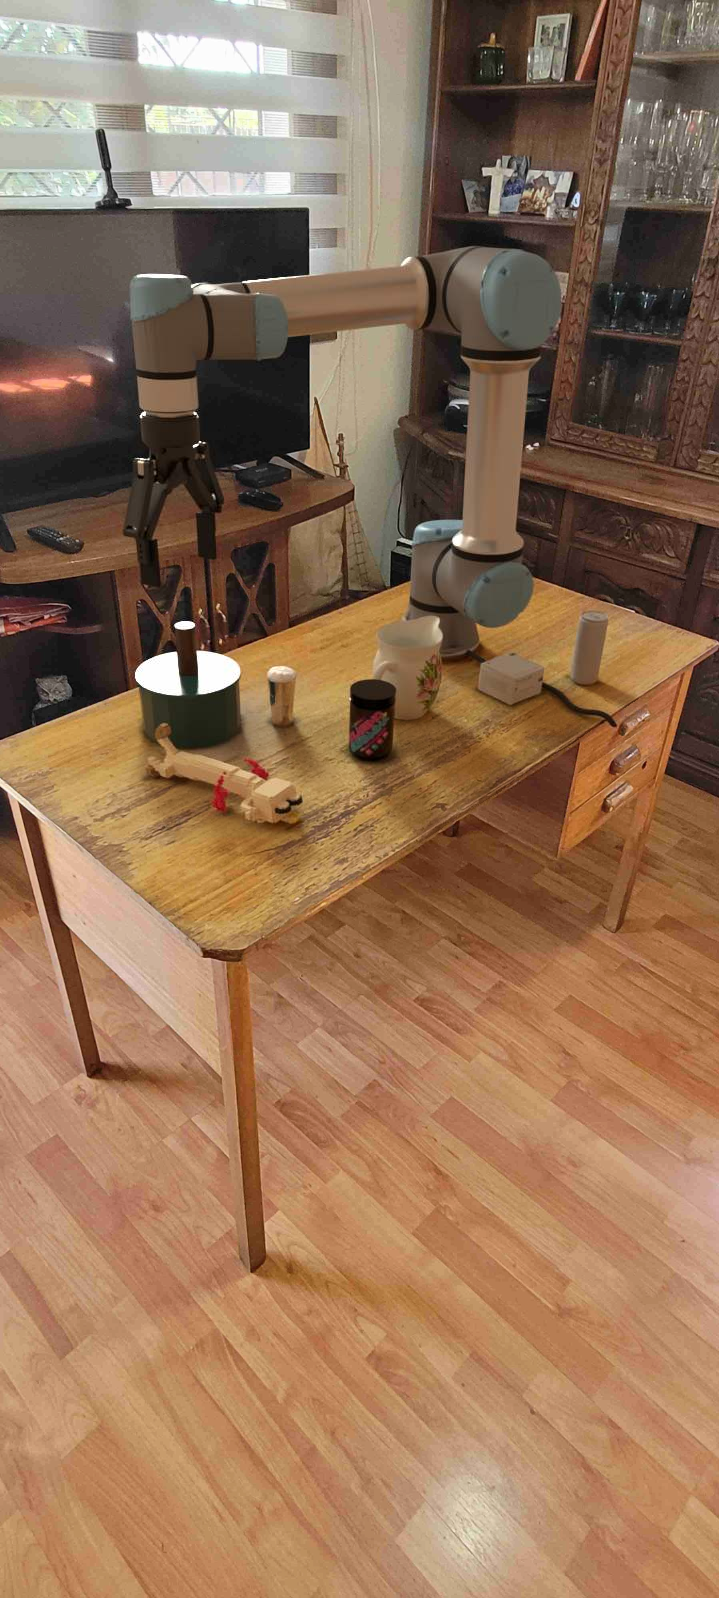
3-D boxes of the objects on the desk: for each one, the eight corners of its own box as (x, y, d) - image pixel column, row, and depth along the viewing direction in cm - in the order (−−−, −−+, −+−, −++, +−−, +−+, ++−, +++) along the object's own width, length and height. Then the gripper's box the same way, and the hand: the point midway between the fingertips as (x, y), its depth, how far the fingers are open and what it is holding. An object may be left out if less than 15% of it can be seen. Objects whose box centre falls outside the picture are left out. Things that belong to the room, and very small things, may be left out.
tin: (257, 716, 148) (256, 667, 143) (205, 757, 137) (201, 706, 132) (180, 696, 153) (176, 648, 149) (124, 733, 142) (118, 683, 137)
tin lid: (260, 670, 144) (259, 617, 139) (203, 712, 132) (199, 655, 127) (176, 650, 150) (172, 598, 145) (113, 687, 138) (106, 632, 133)
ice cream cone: (297, 730, 145) (297, 671, 139) (264, 726, 145) (262, 667, 140) (304, 717, 148) (304, 659, 143) (272, 713, 149) (271, 655, 144)
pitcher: (342, 723, 147) (344, 643, 139) (402, 684, 160) (406, 608, 152) (401, 744, 142) (406, 661, 134) (458, 701, 155) (465, 624, 147)
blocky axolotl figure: (137, 791, 131) (276, 840, 118) (127, 735, 126) (270, 780, 114) (186, 762, 138) (322, 806, 125) (178, 708, 133) (318, 748, 121)
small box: (510, 706, 154) (514, 678, 151) (476, 689, 159) (479, 661, 156) (541, 694, 158) (546, 666, 155) (507, 678, 163) (511, 650, 160)
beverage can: (585, 688, 160) (597, 623, 154) (563, 679, 163) (574, 614, 157) (602, 681, 163) (614, 616, 157) (580, 671, 166) (591, 608, 160)
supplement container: (338, 749, 140) (340, 687, 134) (372, 736, 144) (375, 674, 138) (368, 767, 136) (371, 704, 130) (402, 753, 140) (406, 691, 134)
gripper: (199, 394, 131) (207, 543, 143) (81, 423, 112) (102, 592, 123) (245, 400, 128) (249, 551, 140) (132, 431, 109) (148, 603, 121)
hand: (180, 571), depth 132 cm, fingers open, 13 cm apart
